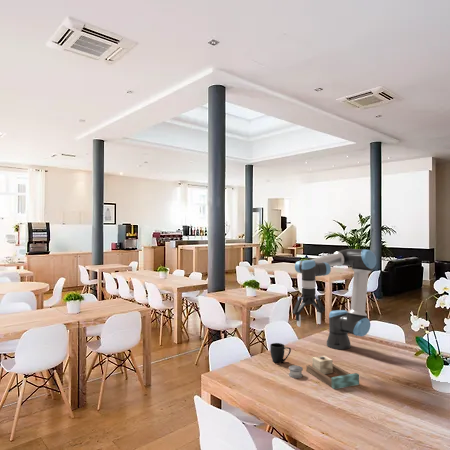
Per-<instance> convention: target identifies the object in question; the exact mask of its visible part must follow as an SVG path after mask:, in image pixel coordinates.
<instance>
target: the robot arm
mask: <svg viewBox="0 0 450 450" xmlns="http://www.w3.org/2000/svg"><path fill="white" fill-rule="evenodd" d="M376 265H377V257H376V254H375V252H374V251H373V250H371V249H365V248H364V249H363V248H361V249H360V248H347V249H341V250H338V251H335V252H333V254H329V255H324V256H320V257H317V258H312V259H305V260H297V261H296V262H295V264H294V270H295V271H296V272H297V273H298V274H299V273H300V274H301V295H302V296H297V300H296V302H295V305H294V307H293V310H292V314H294V315H295V321H296V326H297V327H298V328H302V326H301V325H302V324H301V323H302V322H301V320H302V319H301V317H302V316H301V313H302V311H303V309H304V308H305V307H306V306H307V305H312V306H313V307H314V308H315V309H316V324H318V325H321V324H322V317H323V315H322V314H323V313H324V312H325V310H326V309H325V307H324V304H323V302H322V300H321V296H320V295H318V294H316V292H317V291H316V285H317V284H316V277H325V276H328V275H330V273H331V272H332V271H331V270H332V267H335V266H336V267H342V266H343V267H344V266H347V267H352V268H351V270H352V271H353V273H354V274H353V281H352V282H353V283H352V290H351V302H350V308H349V310H345V309H337V310H331V311H329V314H328V315H329V317H328V323H329V324H328V331H329V332H328V336H327V339H326V346H327V347H328V348H331V349H334V350H335V349H336V350H348V349H350V348H351V341H350V337H349V334H350V335H354V336H356V337H357V336H358V337H364V336H366V335H367V334H368V333H369V331H370V329H371V321H370V319H369V318H368V314H367V313H366V304H367V293H368V283H369V282H368V281H369V274H370V273H372V269H374V268H375V267H376ZM315 300H316V301H315Z"/></svg>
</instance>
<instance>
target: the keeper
mask: <svg viewBox="0 0 450 450" xmlns="http://www.w3.org/2000/svg"><path fill="white" fill-rule="evenodd" d="M311 360H312V361H311V362H312V363H311V364H312V365H311V366H312V367H313V368H315V369H317V370H318V371H320V372H321V373H323V374H325V375H327V374H333V373H334V372H333V364H334V362H333V359H332V358H330V357H328V356H327V355H319V356H314V357H312V359H311Z"/></svg>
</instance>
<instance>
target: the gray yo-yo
mask: <svg viewBox="0 0 450 450" xmlns="http://www.w3.org/2000/svg"><path fill="white" fill-rule="evenodd" d="M288 370H289V373H288V377H290V378H292V379H301V378H303V373H302V371H303V370H304V369H303V367H302V366H301V365H289V366H288Z"/></svg>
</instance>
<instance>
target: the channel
mask: <svg viewBox="0 0 450 450" xmlns="http://www.w3.org/2000/svg"><path fill="white" fill-rule="evenodd" d="M305 369H306V370H305V371H306V372H307V373H308V374H311V375H312V376H313V377H315V378H316V379H318V380H319V381H320V382H322V383H324V384H325V385H327V386H328V387H330V388H331V389H333V390H338V389H343V388H349V387H353V386H359V385H360V374H359V373H358V372H355V373H350V372H348V371H347V370H345V369H344V368H343V369H342V368H341V367H340V366H337V365H336V364H334V363H333V373H335V374H336V375H338V376H336V375H335V376H333V377H332V376H331V377H330V376H328V375H327V374H323V373H321V372H320V371H318V370H317V369H315V368H313V367H312V365H310V364H308V365H306V366H305Z"/></svg>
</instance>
